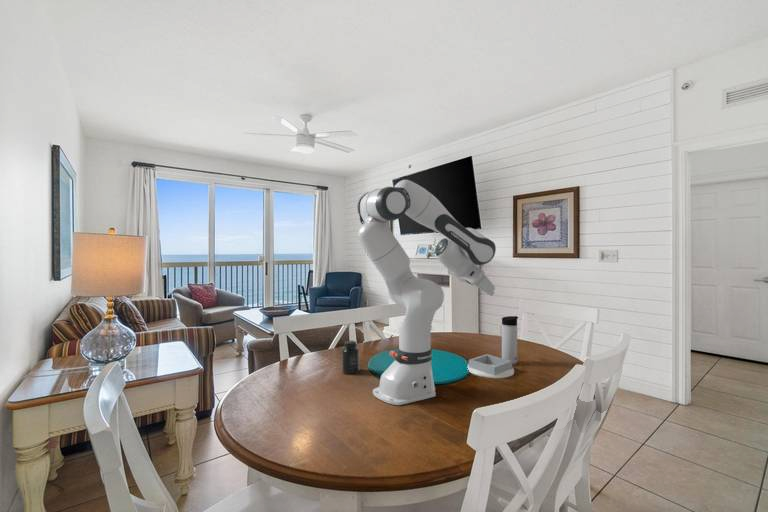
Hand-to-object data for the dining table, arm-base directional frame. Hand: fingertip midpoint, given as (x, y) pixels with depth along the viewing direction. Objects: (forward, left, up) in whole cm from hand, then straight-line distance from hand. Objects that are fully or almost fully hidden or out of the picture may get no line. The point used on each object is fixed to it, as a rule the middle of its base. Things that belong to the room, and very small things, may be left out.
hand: (485, 289), depth 146 cm
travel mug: (+13, -3, -32) cm, 35 cm away
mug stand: (-1, -3, -32) cm, 32 cm away
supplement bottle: (-45, +32, -32) cm, 64 cm away
